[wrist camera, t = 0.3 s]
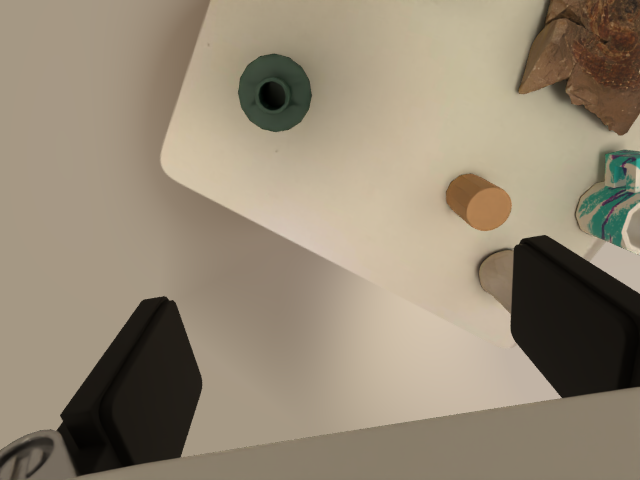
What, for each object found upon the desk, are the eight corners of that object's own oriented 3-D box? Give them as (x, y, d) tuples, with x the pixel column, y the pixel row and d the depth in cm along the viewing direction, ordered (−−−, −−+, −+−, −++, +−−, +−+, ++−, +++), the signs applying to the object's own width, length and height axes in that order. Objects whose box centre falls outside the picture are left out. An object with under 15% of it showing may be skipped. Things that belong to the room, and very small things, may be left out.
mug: (575, 240, 56) (621, 262, 48) (575, 157, 52) (624, 166, 44) (632, 228, 55) (688, 247, 47) (636, 143, 52) (697, 149, 44)
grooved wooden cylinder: (445, 177, 52) (466, 192, 45) (485, 170, 52) (512, 184, 45) (447, 215, 54) (466, 234, 47) (485, 208, 54) (511, 226, 47)
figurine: (481, 297, 59) (563, 397, 41) (466, 239, 55) (550, 319, 37) (544, 276, 58) (657, 367, 40) (533, 215, 54) (653, 285, 36)
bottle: (247, 65, 46) (222, 59, 31) (303, 55, 45) (304, 44, 31) (260, 123, 48) (242, 143, 33) (312, 114, 48) (318, 129, 33)
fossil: (574, -76, 42) (604, -93, 38) (695, -36, 44) (737, -48, 40) (504, 106, 49) (523, 109, 44) (612, 134, 51) (640, 138, 46)
